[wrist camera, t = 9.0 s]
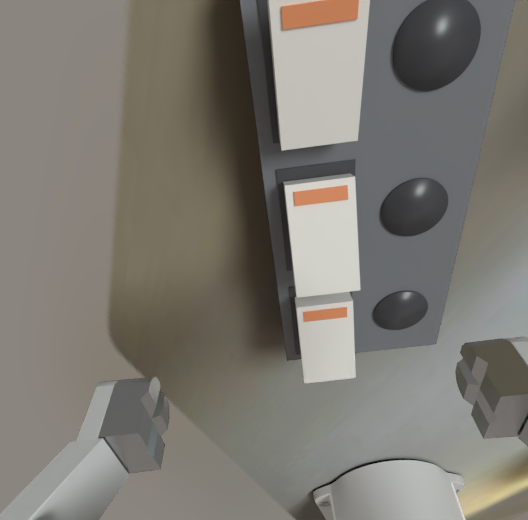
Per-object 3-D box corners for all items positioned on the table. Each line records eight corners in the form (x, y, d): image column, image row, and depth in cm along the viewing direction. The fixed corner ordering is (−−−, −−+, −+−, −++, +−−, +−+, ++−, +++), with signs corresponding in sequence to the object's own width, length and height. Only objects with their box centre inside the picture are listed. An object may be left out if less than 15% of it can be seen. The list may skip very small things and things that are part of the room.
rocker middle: (355, 281, 22) (360, 290, 21) (294, 288, 22) (296, 298, 21) (349, 173, 20) (355, 176, 19) (283, 181, 20) (284, 185, 19)
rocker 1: (352, 125, 18) (358, 141, 17) (279, 135, 18) (281, 151, 17) (363, -30, 14) (372, -19, 13) (266, -16, 14) (268, -4, 13)
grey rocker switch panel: (421, 314, 31) (439, 350, 28) (283, 330, 32) (287, 367, 29) (493, -84, 17) (545, -93, 14) (234, -45, 17) (233, -45, 14)
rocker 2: (351, 365, 27) (355, 378, 26) (302, 370, 27) (304, 384, 26) (348, 290, 25) (353, 301, 23) (294, 297, 25) (296, 308, 24)
